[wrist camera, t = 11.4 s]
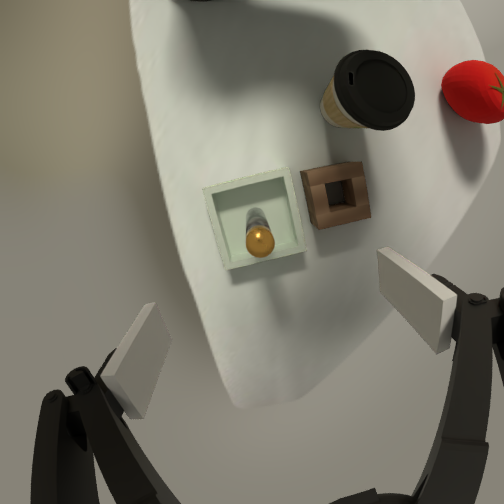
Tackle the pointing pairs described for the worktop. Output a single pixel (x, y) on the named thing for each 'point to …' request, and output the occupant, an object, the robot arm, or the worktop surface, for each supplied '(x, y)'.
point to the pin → (258, 234)
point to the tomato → (475, 91)
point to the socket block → (353, 193)
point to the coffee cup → (368, 92)
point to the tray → (249, 196)
